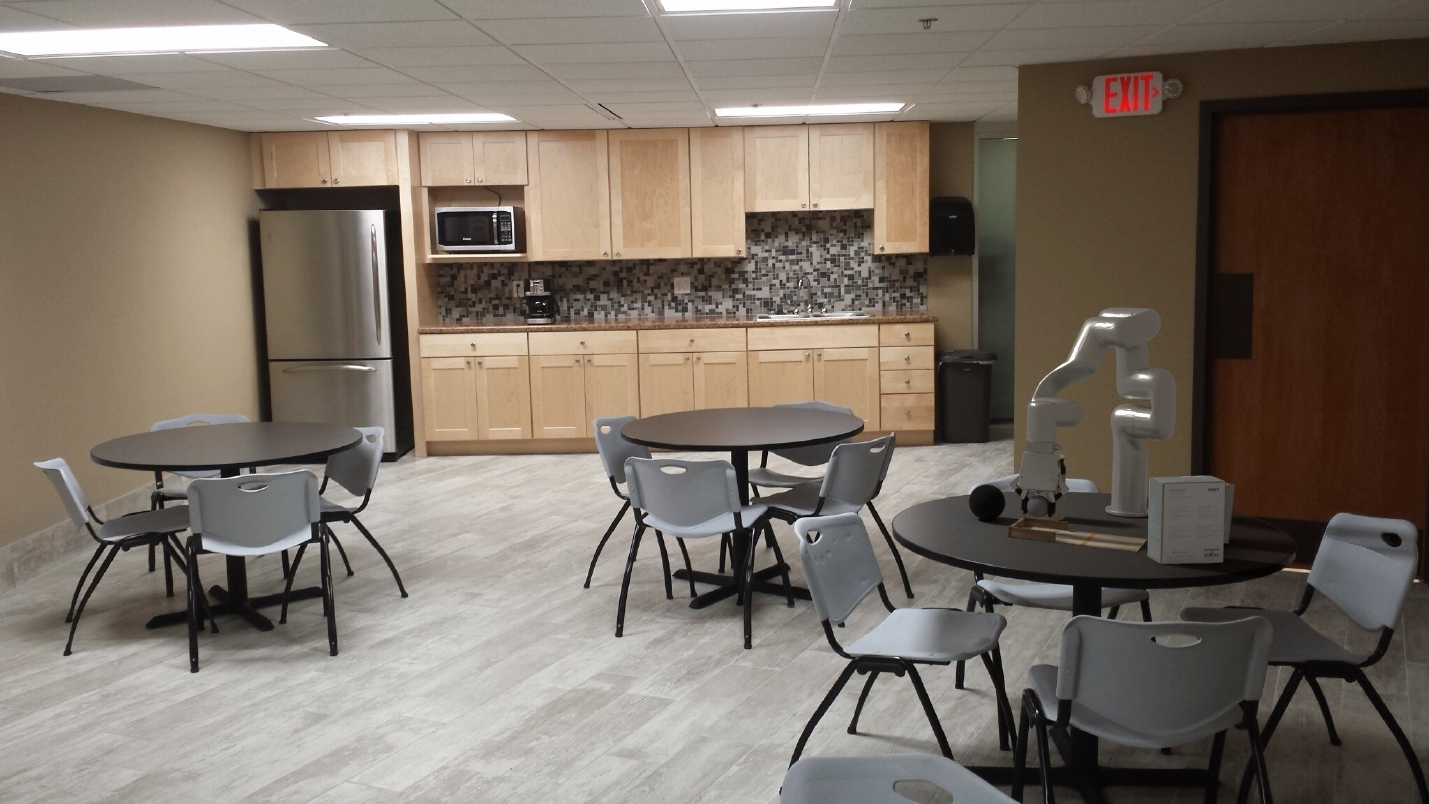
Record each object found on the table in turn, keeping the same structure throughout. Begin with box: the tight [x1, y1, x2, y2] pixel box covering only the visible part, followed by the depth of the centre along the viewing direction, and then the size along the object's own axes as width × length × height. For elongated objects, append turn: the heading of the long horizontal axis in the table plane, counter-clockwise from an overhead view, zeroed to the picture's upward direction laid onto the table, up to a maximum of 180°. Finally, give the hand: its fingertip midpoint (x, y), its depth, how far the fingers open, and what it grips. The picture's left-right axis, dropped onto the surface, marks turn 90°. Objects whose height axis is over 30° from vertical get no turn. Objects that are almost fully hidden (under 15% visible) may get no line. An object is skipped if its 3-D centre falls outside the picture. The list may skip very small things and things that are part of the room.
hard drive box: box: [1147, 475, 1227, 565], centre depth 257 cm, size 16×8×20 cm, turn 92°
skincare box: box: [1223, 482, 1236, 545], centre depth 276 cm, size 8×7×16 cm
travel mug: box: [1035, 453, 1067, 521], centre depth 302 cm, size 8×8×18 cm
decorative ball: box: [968, 483, 1006, 521], centre depth 302 cm, size 10×10×10 cm
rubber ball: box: [1027, 494, 1049, 518], centre depth 284 cm, size 6×6×6 cm
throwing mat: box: [1008, 516, 1148, 553], centre depth 280 cm, size 14×32×3 cm, turn 59°
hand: (1038, 514), depth 284 cm, fingers closed on rubber ball, 5 cm apart
